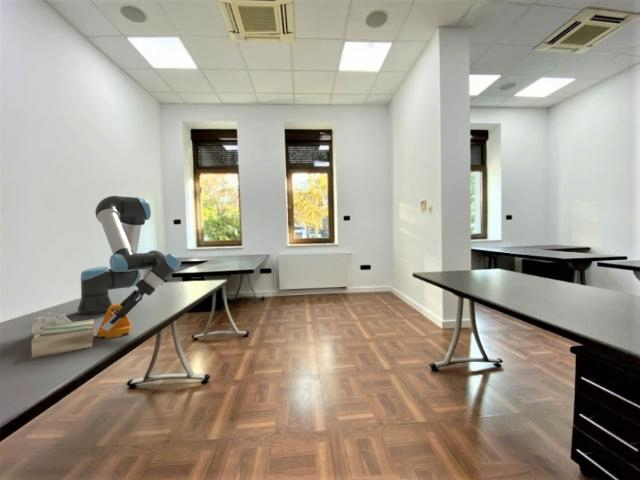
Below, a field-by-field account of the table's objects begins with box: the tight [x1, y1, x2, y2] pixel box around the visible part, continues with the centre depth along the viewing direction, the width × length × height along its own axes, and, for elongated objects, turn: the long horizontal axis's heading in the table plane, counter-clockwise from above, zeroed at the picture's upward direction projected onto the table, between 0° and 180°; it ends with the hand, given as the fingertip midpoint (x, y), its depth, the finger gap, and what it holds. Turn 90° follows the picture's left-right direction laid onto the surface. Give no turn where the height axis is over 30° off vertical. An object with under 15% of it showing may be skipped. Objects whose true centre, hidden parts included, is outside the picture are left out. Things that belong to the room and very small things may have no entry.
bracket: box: [97, 303, 132, 339], centre depth 120 cm, size 11×7×12 cm, turn 119°
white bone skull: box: [31, 311, 72, 337], centre depth 122 cm, size 12×9×10 cm
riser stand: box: [30, 318, 95, 359], centre depth 109 cm, size 18×16×6 cm
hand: (104, 326), depth 118 cm, fingers closed on bracket, 7 cm apart
